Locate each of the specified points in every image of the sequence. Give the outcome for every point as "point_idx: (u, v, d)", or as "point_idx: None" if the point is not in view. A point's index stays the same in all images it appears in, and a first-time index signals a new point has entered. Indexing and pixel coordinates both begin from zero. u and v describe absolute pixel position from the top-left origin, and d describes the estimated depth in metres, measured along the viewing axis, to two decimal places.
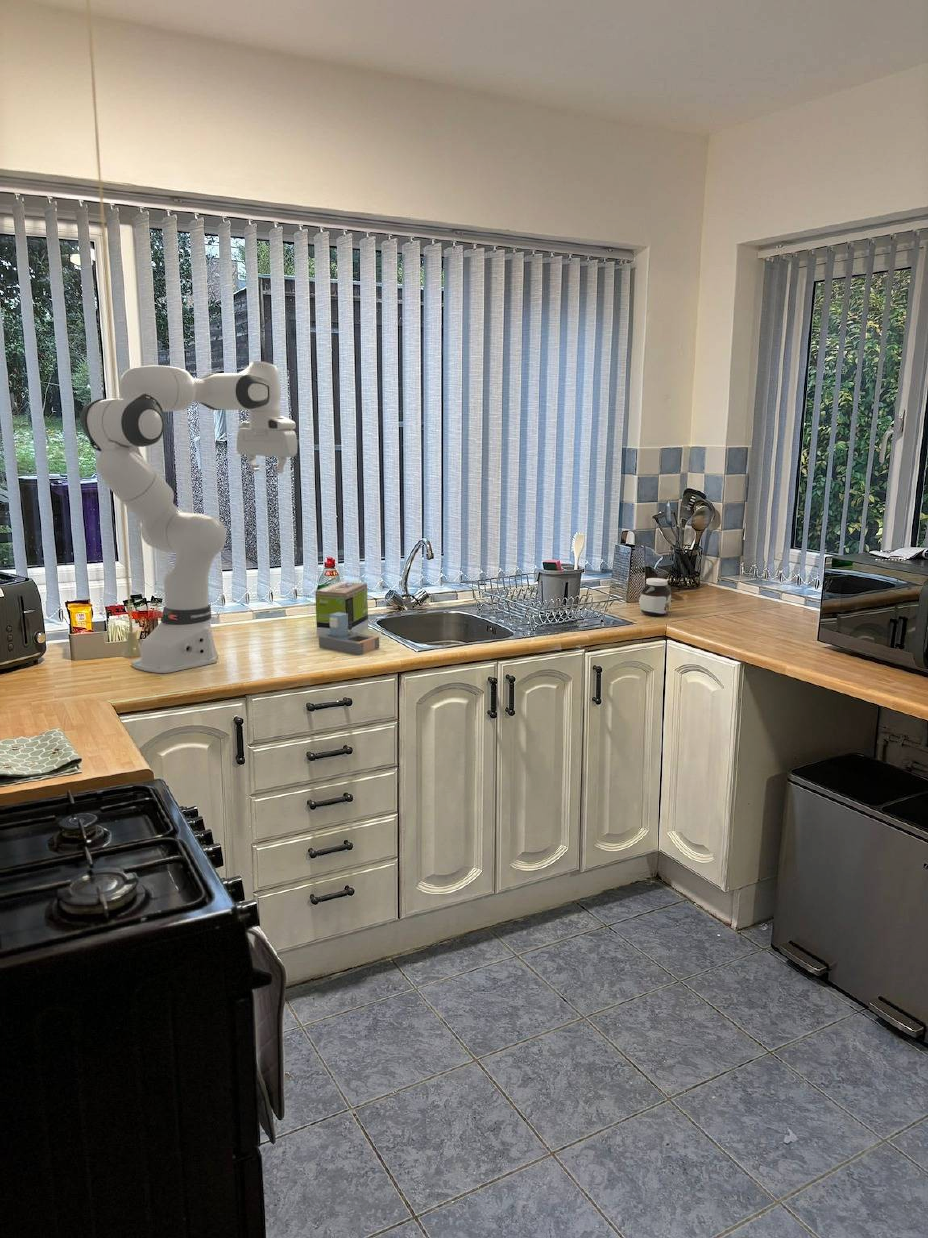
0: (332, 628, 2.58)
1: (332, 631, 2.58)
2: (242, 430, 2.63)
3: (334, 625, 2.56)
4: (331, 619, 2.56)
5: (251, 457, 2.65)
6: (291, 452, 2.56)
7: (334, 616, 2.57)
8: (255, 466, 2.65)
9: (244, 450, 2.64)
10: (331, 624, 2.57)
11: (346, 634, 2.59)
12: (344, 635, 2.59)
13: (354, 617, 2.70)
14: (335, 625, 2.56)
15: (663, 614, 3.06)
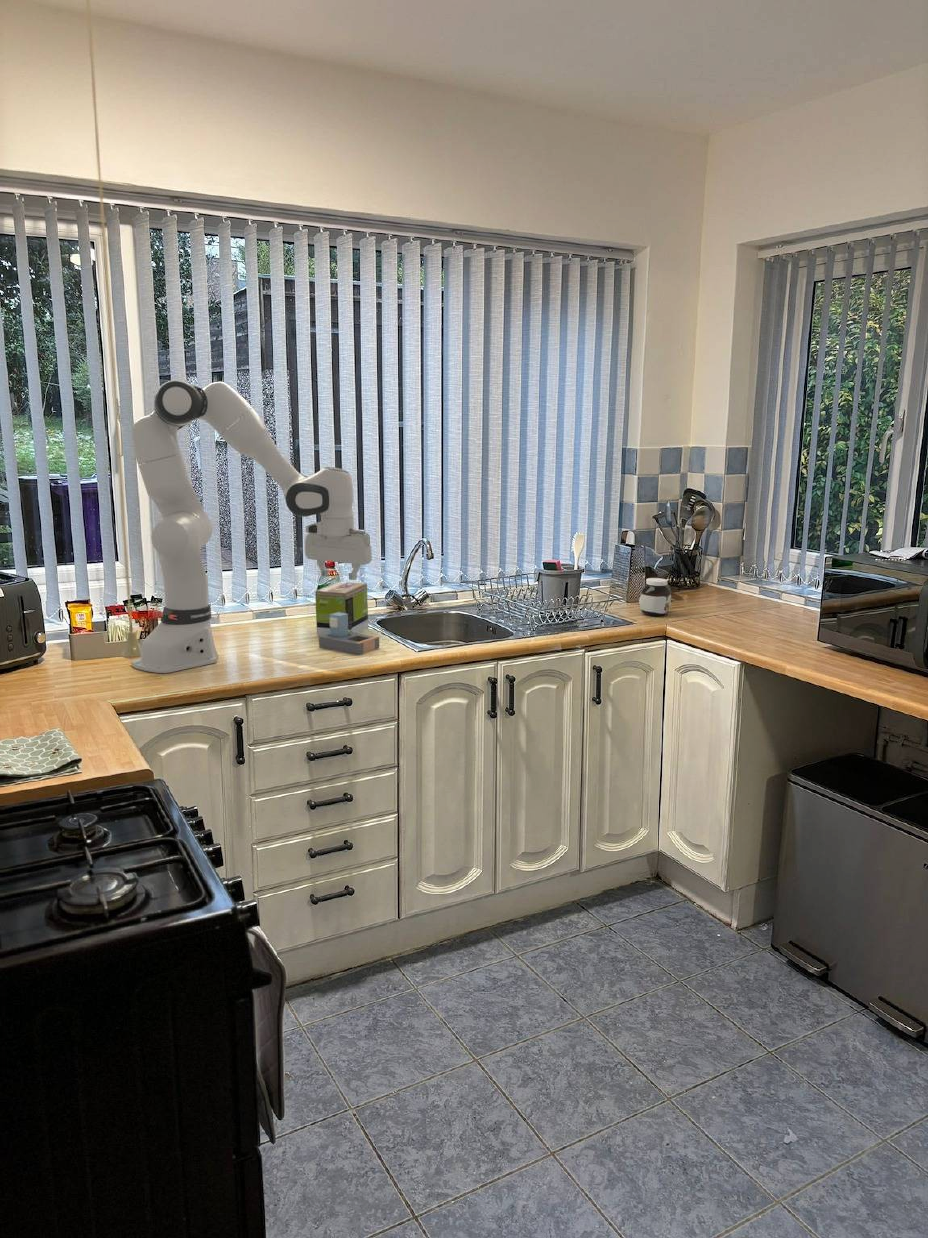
0: (332, 628, 2.58)
1: (332, 631, 2.58)
2: None
3: (334, 625, 2.56)
4: (331, 619, 2.56)
5: None
6: None
7: (334, 616, 2.57)
8: None
9: None
10: (331, 624, 2.57)
11: (346, 634, 2.59)
12: (344, 635, 2.59)
13: (354, 617, 2.70)
14: (335, 625, 2.56)
15: (663, 614, 3.06)
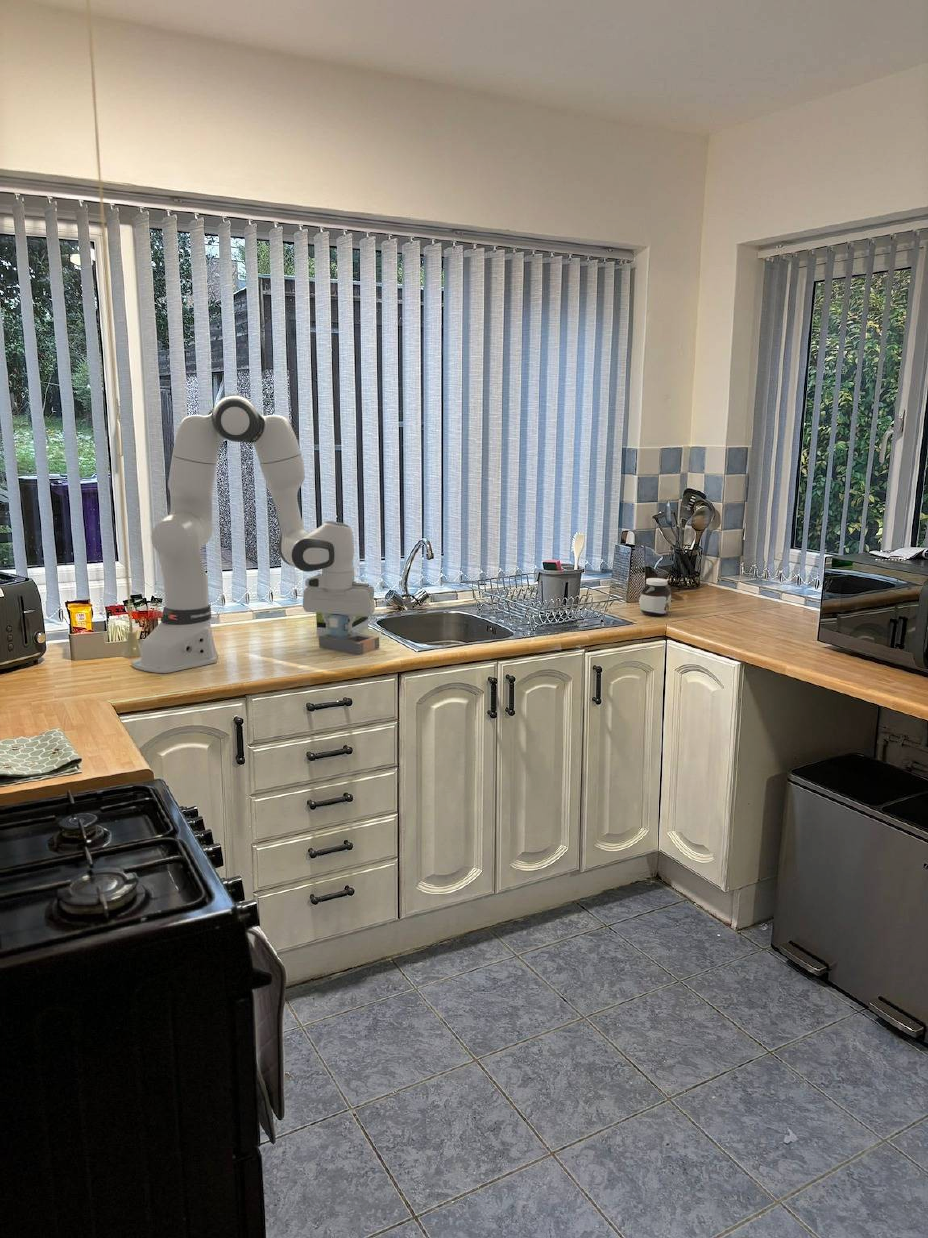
0: (332, 628, 2.58)
1: (332, 631, 2.58)
2: None
3: (334, 625, 2.56)
4: (331, 619, 2.56)
5: None
6: None
7: (334, 616, 2.57)
8: None
9: None
10: (331, 624, 2.57)
11: (346, 634, 2.59)
12: (344, 635, 2.59)
13: None
14: (335, 625, 2.56)
15: (663, 614, 3.06)
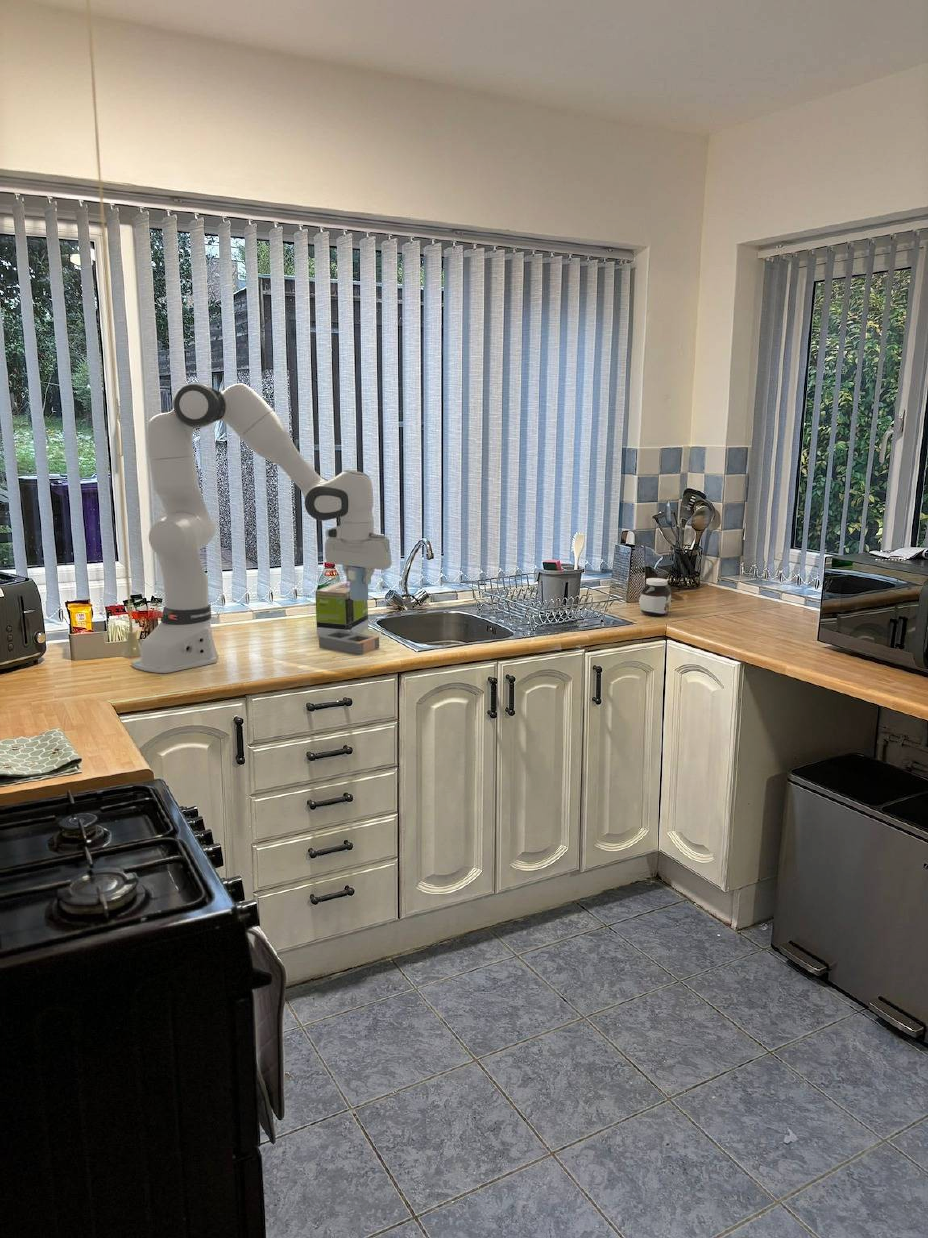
0: (351, 581, 2.52)
1: (351, 583, 2.52)
2: None
3: (351, 577, 2.50)
4: (349, 571, 2.50)
5: None
6: None
7: (352, 568, 2.50)
8: None
9: None
10: (349, 576, 2.51)
11: (365, 588, 2.52)
12: (363, 588, 2.52)
13: (354, 617, 2.70)
14: (352, 577, 2.50)
15: (663, 614, 3.06)
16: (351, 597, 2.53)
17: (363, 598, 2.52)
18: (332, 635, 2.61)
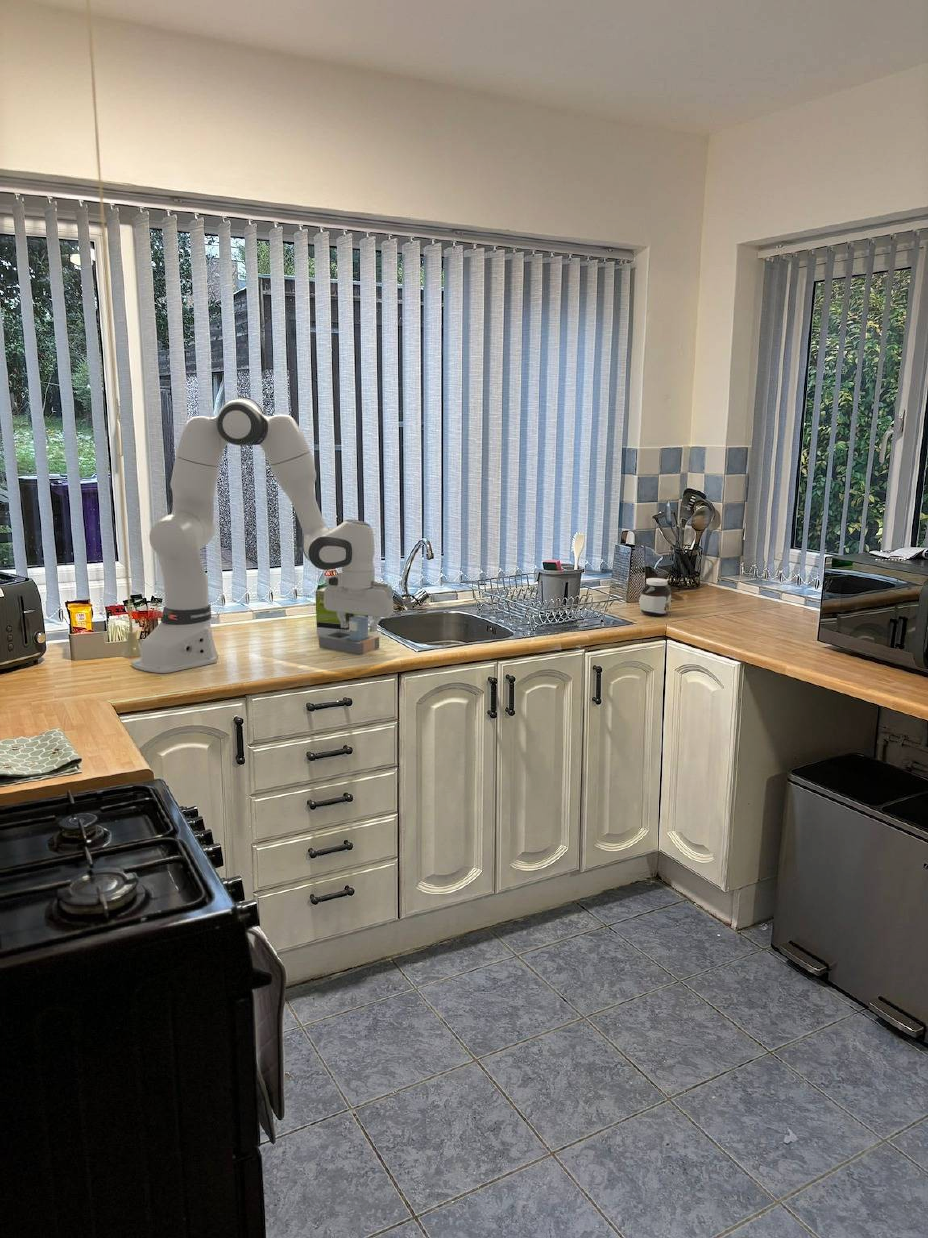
0: (352, 631, 2.54)
1: (351, 634, 2.55)
2: None
3: (353, 629, 2.53)
4: (350, 622, 2.53)
5: None
6: None
7: (354, 619, 2.53)
8: None
9: None
10: (350, 627, 2.53)
11: (366, 638, 2.56)
12: (364, 639, 2.55)
13: None
14: (354, 629, 2.52)
15: (663, 614, 3.06)
16: None
17: None
18: (332, 635, 2.61)
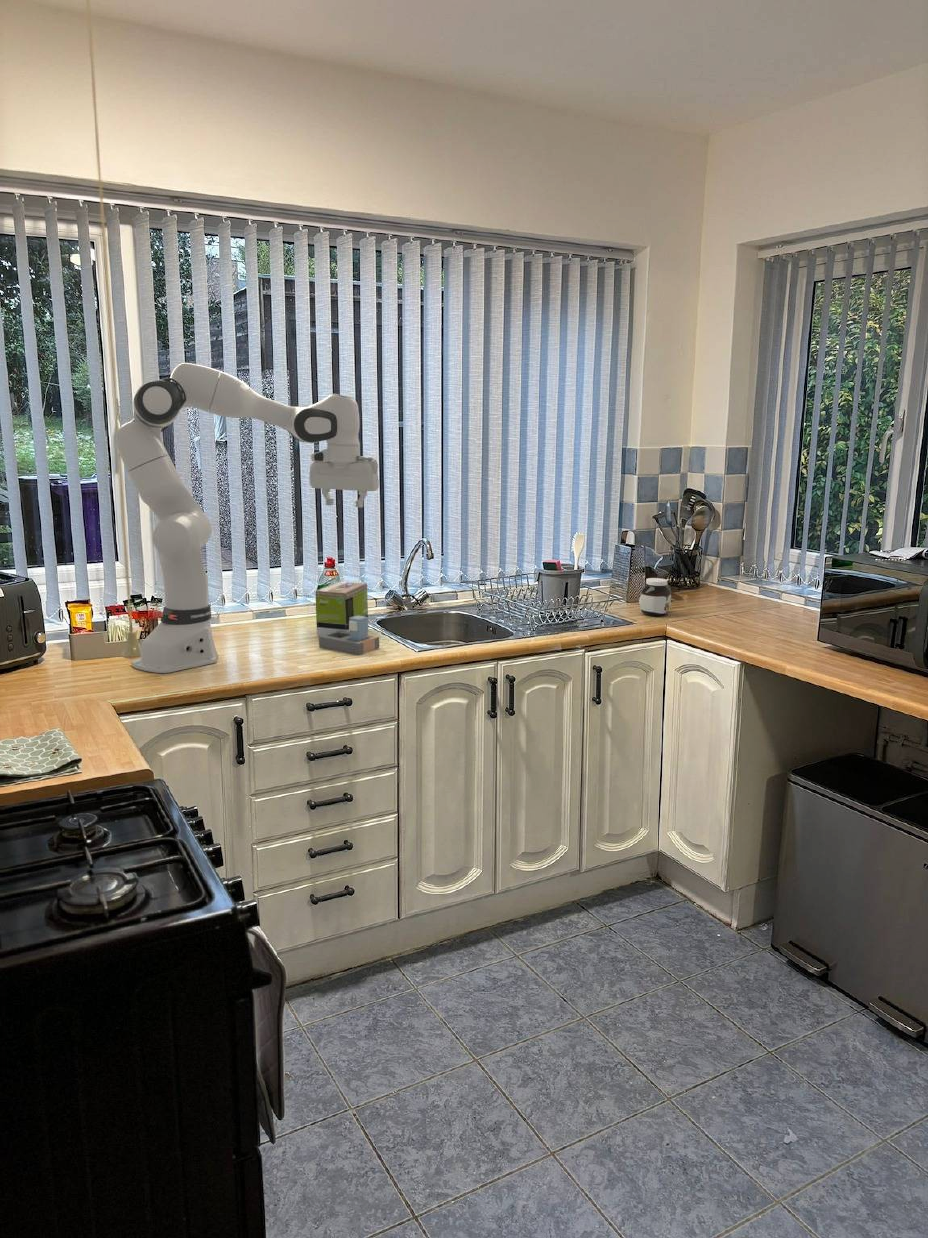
0: (352, 631, 2.54)
1: (351, 634, 2.55)
2: None
3: (353, 629, 2.53)
4: (350, 622, 2.53)
5: None
6: None
7: (354, 619, 2.53)
8: None
9: None
10: (350, 627, 2.53)
11: (366, 638, 2.56)
12: (364, 639, 2.55)
13: None
14: (354, 629, 2.52)
15: (663, 614, 3.06)
16: None
17: None
18: (332, 635, 2.61)
